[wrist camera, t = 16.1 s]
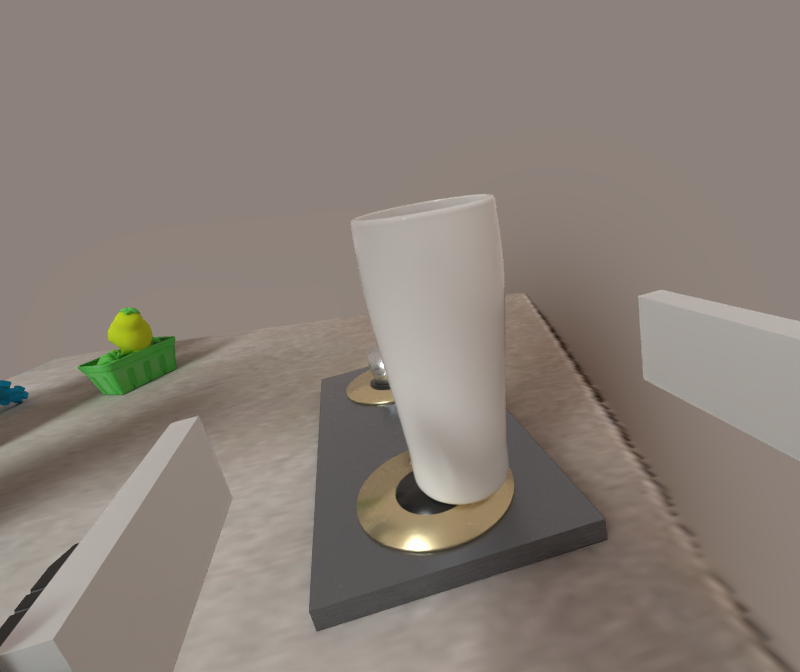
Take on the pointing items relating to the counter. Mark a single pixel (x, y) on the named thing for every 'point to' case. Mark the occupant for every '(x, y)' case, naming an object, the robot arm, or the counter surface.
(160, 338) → the fruit basket
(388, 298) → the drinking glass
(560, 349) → the counter surface
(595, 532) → the bolt plate
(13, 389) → the blue plastic t-shaped piece
